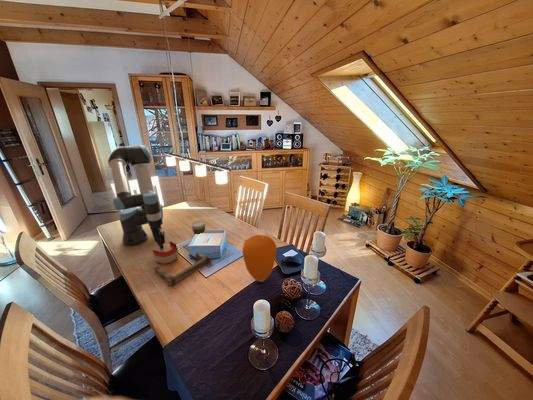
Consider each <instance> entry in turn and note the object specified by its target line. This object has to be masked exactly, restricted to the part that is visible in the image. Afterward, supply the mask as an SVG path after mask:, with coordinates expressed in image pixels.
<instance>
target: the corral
mask: <svg viewBox="0 0 533 400" xmlns="http://www.w3.org/2000/svg"><path fill="white" fill-rule="evenodd" d="M195 259H196V260H198V261H196V262H195V263H193V264H192V265H190V266H188V267H186V268H185V269H183V270H181V271H180V272H178V273H177V274H175V275H173V276H172V275H171V274H169V273H168V272H167V271H165V270H164V269H163V268H162V267H160V266H159V265H156V266H155V267H153V270H154V274H156V275H157V276H158V277H159V278H161V279H162V280H163V281H164V282H166V283H167V285H168V286H167V287H169V288H173V287H174V286H176V285H177V284H180V282H182V281H184V280H186V279H187V278H188V277H190V276H192V275H193V274H194V273H197V272H198V271H200V270H201V269H203V268H204V267H206V266H207V265H208V264H210V263H212V261H211V260H212V259H211V256H209V255H205V254H204V253H202V254H198V253H196V258H195ZM199 269H200V270H199Z"/></svg>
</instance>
